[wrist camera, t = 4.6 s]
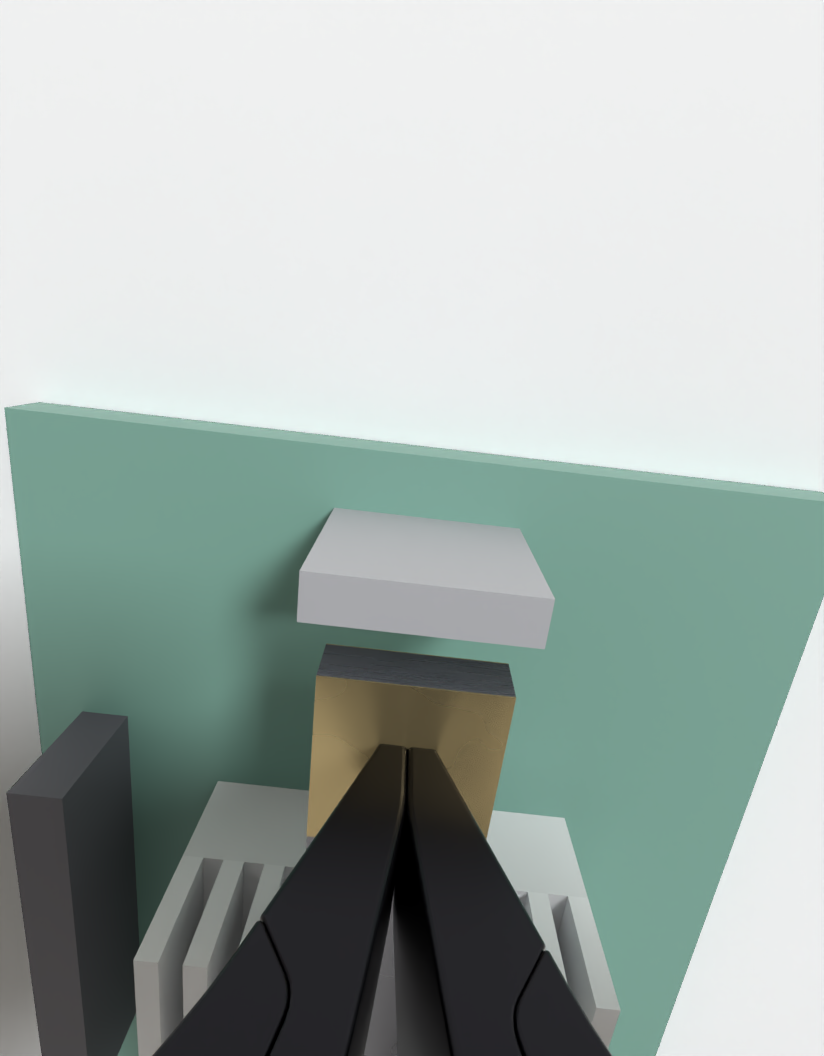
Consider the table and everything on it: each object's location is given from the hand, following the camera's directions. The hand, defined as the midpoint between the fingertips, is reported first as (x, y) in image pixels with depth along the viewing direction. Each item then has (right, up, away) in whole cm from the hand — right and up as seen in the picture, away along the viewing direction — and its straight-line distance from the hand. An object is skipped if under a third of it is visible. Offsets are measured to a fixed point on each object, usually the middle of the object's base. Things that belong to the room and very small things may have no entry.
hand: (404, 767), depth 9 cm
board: (-1, -5, +6) cm, 8 cm away
